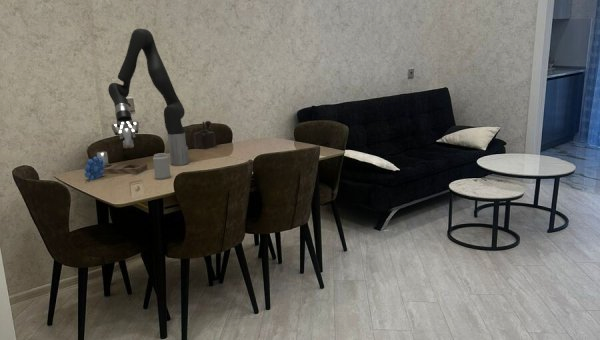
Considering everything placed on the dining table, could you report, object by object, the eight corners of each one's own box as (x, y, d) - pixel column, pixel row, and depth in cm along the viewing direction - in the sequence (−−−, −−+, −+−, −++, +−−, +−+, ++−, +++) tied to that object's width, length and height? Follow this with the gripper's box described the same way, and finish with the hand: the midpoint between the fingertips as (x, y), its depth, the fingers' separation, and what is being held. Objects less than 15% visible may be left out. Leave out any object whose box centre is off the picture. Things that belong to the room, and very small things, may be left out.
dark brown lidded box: (193, 148, 330) (190, 120, 325) (205, 145, 338) (203, 118, 334) (210, 150, 321) (207, 121, 317) (222, 146, 329) (220, 119, 325)
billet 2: (135, 146, 267) (133, 127, 264) (130, 148, 262) (128, 128, 260) (126, 146, 268) (124, 127, 266) (121, 148, 263) (119, 128, 261)
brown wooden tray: (147, 170, 272) (146, 164, 271) (137, 175, 262) (136, 169, 261) (100, 170, 278) (99, 164, 277) (88, 175, 267) (87, 168, 267)
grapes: (101, 176, 263) (98, 153, 260) (109, 178, 259) (106, 154, 257) (80, 182, 254) (77, 158, 251) (89, 183, 250) (85, 159, 247)
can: (173, 177, 255) (171, 153, 252) (160, 180, 250) (158, 156, 247) (165, 175, 260) (162, 151, 257) (152, 178, 255) (149, 154, 252)
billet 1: (111, 169, 273) (108, 151, 271) (105, 172, 268) (103, 153, 266) (102, 169, 274) (100, 151, 272) (97, 172, 269) (94, 153, 267)
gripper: (108, 110, 265) (113, 137, 257) (137, 108, 270) (142, 134, 262) (109, 119, 271) (113, 145, 263) (137, 117, 276) (142, 142, 268)
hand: (128, 139), depth 262 cm, fingers closed on billet 2, 5 cm apart
